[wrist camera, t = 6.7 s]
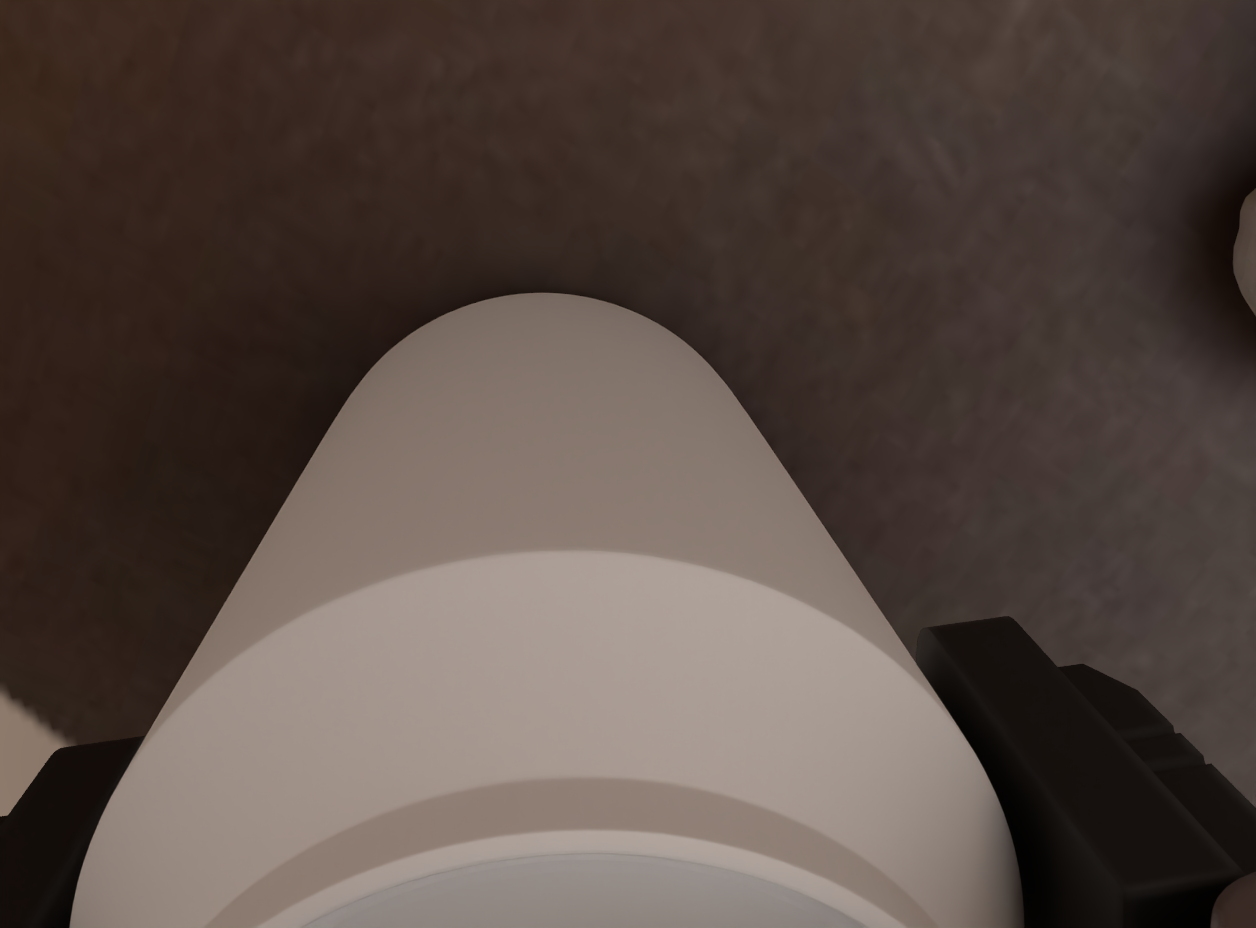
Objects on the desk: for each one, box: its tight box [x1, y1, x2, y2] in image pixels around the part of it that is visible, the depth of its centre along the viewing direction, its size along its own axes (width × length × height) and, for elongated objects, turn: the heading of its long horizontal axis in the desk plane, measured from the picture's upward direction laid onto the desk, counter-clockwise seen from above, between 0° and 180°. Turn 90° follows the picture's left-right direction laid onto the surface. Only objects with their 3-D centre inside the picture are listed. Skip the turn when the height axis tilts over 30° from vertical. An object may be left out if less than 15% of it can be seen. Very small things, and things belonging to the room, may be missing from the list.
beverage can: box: [70, 293, 1024, 928], centre depth 12 cm, size 6×6×12 cm
